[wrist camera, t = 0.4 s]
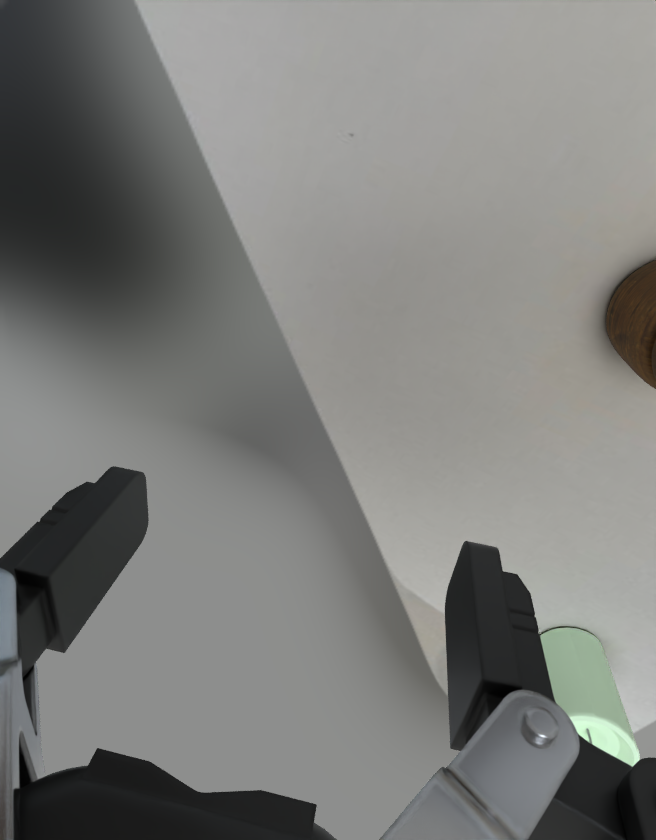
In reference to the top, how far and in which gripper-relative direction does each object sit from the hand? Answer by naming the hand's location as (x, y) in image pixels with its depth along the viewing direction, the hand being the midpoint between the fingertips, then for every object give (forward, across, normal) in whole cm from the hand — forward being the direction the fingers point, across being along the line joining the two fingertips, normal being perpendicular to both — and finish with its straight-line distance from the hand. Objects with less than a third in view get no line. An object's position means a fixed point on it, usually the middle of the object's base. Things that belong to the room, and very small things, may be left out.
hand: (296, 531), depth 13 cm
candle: (+19, -19, +23) cm, 36 cm away
